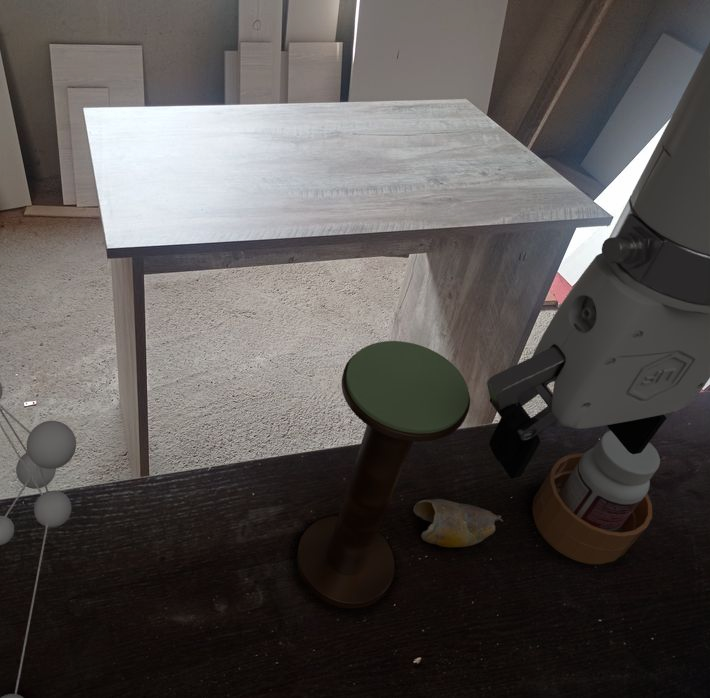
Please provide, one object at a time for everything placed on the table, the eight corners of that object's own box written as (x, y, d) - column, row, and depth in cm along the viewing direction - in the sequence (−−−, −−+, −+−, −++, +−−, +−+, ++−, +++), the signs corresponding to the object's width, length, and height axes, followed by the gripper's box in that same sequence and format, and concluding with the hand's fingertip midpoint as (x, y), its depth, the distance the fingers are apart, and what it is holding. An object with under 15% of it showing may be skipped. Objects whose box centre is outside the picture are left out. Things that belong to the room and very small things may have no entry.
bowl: (638, 523, 73) (665, 491, 69) (606, 585, 68) (633, 554, 64) (552, 470, 77) (572, 438, 73) (515, 525, 72) (535, 493, 68)
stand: (410, 561, 68) (492, 386, 51) (357, 629, 62) (430, 458, 46) (332, 505, 72) (386, 326, 55) (276, 564, 66) (317, 386, 50)
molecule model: (108, 486, 73) (152, 381, 60) (15, 754, 56) (49, 685, 43) (-28, 440, 71) (-12, 322, 59) (-169, 704, 54) (-190, 616, 41)
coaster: (488, 386, 51) (490, 382, 51) (429, 455, 46) (430, 451, 46) (387, 328, 55) (388, 324, 55) (321, 386, 50) (322, 382, 50)
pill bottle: (624, 529, 72) (680, 459, 64) (588, 559, 69) (643, 490, 61) (572, 486, 75) (620, 414, 67) (536, 513, 72) (582, 441, 65)
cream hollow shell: (467, 503, 73) (498, 495, 70) (474, 549, 72) (507, 543, 68) (402, 502, 70) (431, 493, 66) (409, 550, 69) (439, 544, 65)
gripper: (594, 312, 34) (482, 517, 46) (867, 275, 38) (700, 471, 50) (510, 223, 39) (429, 428, 51) (759, 199, 43) (631, 393, 55)
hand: (564, 449), depth 50 cm, fingers open, 9 cm apart
